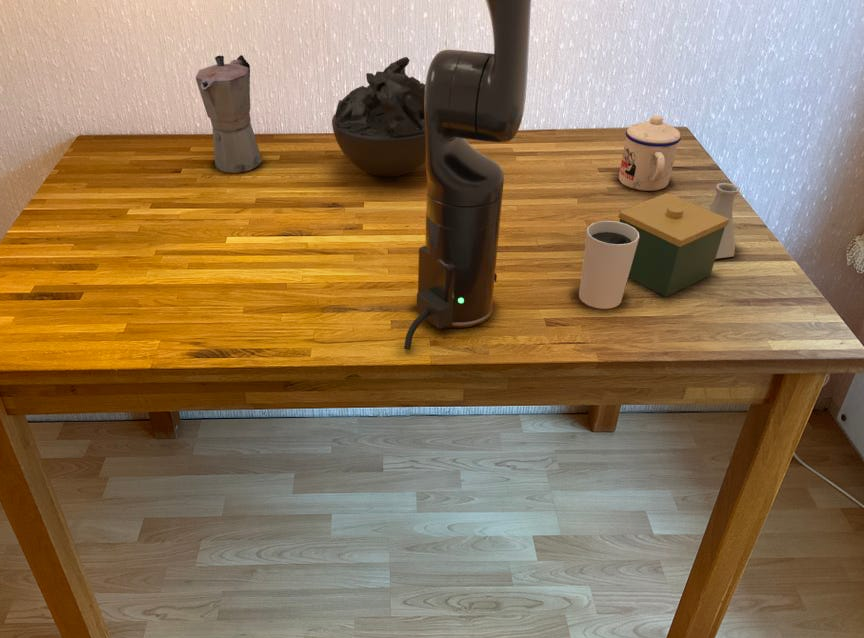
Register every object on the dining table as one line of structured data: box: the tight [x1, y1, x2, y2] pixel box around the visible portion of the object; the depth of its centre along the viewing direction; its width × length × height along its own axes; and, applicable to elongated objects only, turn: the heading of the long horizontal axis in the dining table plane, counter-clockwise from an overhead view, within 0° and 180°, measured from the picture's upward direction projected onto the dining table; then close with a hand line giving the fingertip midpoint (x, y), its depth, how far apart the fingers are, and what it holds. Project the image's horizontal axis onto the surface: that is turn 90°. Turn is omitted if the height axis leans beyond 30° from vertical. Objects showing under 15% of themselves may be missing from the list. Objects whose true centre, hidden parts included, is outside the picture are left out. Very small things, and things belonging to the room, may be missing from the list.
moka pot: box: [195, 54, 263, 174], centre depth 134 cm, size 10×15×20 cm, turn 163°
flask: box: [708, 182, 740, 260], centre depth 110 cm, size 7×7×10 cm
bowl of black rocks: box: [331, 56, 426, 178], centre depth 131 cm, size 20×20×19 cm
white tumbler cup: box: [578, 220, 639, 310], centre depth 99 cm, size 7×7×10 cm
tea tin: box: [617, 192, 729, 298], centre depth 104 cm, size 10×10×10 cm
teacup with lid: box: [618, 114, 682, 192], centre depth 127 cm, size 12×9×12 cm
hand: (511, 24), depth 106 cm, fingers closed
